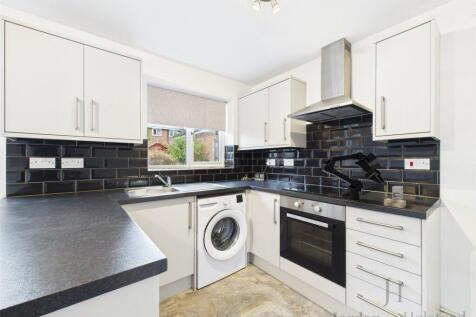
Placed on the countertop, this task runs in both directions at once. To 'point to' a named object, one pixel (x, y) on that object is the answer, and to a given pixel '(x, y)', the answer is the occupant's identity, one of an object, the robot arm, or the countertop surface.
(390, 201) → the birch block
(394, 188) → the ink box
